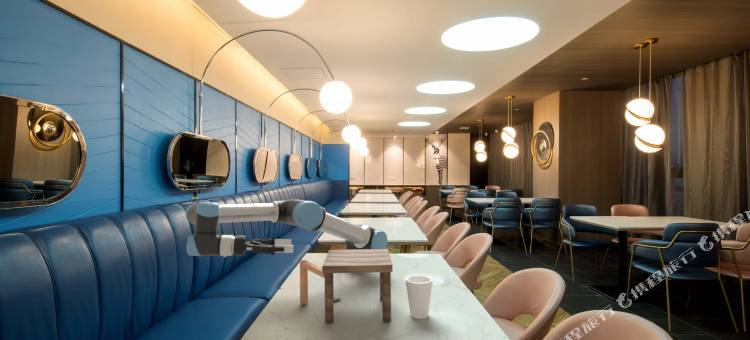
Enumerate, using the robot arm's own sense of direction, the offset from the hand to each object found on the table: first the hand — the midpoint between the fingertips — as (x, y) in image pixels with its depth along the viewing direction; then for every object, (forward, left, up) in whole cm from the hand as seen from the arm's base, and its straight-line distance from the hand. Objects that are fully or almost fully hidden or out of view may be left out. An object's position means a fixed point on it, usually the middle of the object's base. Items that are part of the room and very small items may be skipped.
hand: (292, 245), depth 139 cm
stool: (+5, +26, -23) cm, 35 cm away
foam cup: (+11, +48, -24) cm, 54 cm away
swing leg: (+5, +9, -23) cm, 25 cm away
